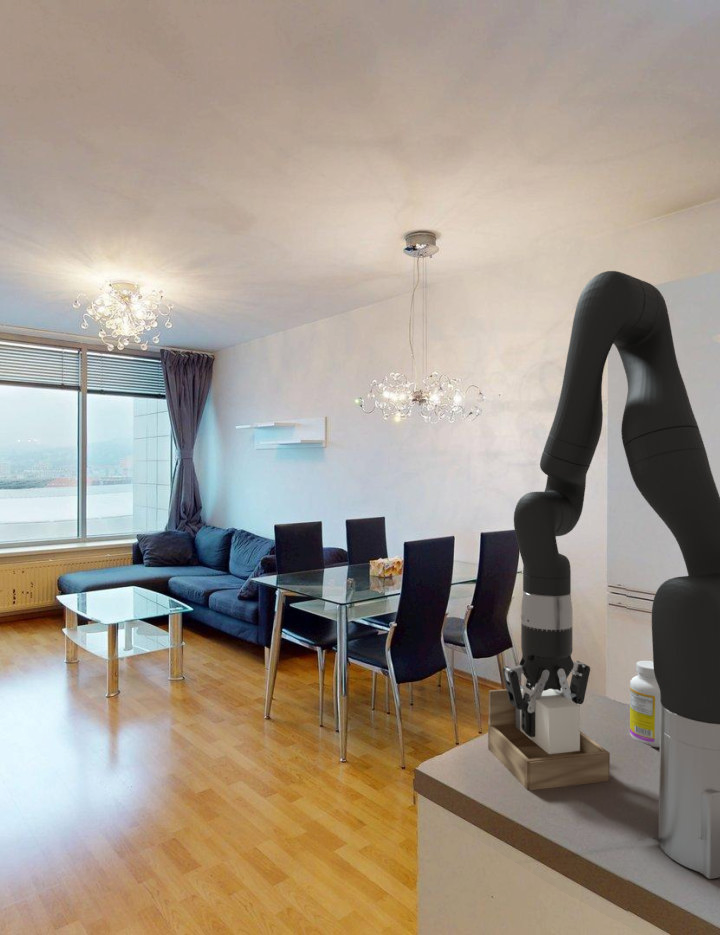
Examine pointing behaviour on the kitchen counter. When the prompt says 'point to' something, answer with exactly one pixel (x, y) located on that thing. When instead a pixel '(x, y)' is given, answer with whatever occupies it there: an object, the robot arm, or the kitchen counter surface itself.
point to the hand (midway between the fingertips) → (546, 732)
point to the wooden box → (540, 752)
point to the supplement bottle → (645, 705)
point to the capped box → (554, 723)
